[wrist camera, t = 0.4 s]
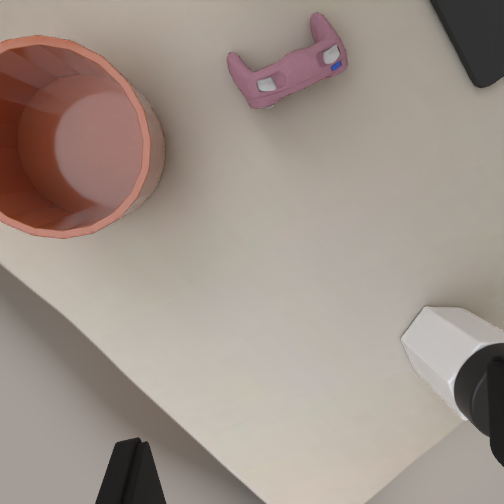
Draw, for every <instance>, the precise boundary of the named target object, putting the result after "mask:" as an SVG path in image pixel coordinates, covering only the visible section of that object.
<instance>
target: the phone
mask: <svg viewBox="0 0 504 504" xmlns="http://www.w3.org/2000/svg"><path fill="white" fill-rule="evenodd" d="M431 2H432V4H433V6H434V8H435V10H436V12H437V14H438V16H439V18H440V20H441V22H442V24H443V25H444V27H445V29H446V31H447V33H448V35H449V37H450V39H451V41H452V43H453V45H454V47H455V49H456V51H457V53H458V55H459V57H460V59H461V61H462V63H463V64H464V66H465V68H466V70H467V72H468V74H469V76H470V78H471V80H472V82H473V83H474V85H475V86H477V87H479V88H483V87H487V86H490V85H492V84H493V83H495V82H496V81H498V80H499V79H500V78H502V77H503V76H504V0H431Z"/></svg>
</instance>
